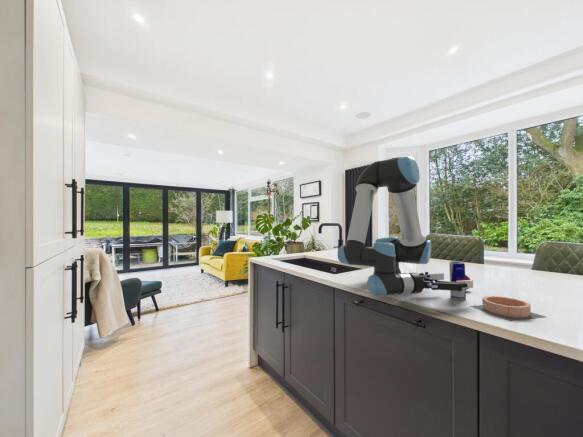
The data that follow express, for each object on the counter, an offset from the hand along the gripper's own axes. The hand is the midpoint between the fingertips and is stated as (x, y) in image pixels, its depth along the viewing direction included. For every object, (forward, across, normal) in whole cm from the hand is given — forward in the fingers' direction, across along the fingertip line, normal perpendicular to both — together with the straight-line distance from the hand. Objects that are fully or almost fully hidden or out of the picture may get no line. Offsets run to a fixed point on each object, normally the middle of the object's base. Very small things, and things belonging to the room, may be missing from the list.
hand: (456, 279), depth 99 cm
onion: (+14, -11, -8) cm, 19 cm away
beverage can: (+1, 0, -8) cm, 8 cm away
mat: (+4, +15, -8) cm, 18 cm away
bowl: (+4, +15, -7) cm, 18 cm away
